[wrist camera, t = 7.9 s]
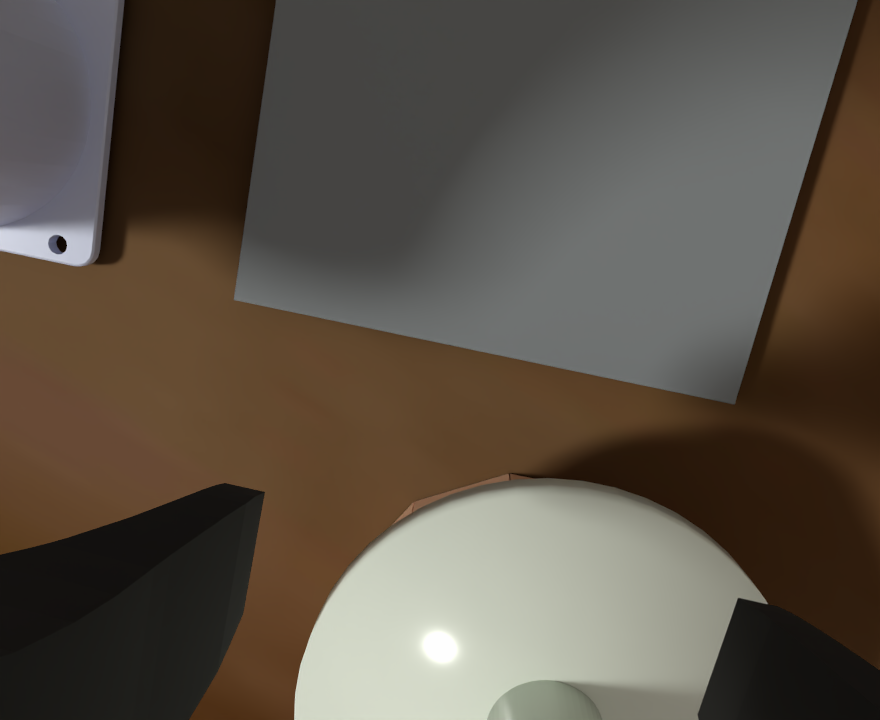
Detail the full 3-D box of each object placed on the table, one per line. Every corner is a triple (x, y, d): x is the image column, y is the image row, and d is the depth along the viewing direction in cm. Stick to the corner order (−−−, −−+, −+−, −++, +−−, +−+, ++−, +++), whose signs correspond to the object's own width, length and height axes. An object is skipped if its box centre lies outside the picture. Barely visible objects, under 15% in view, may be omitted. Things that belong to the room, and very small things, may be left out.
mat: (241, 297, 20) (233, 299, 20) (321, -271, 17) (316, -288, 17) (727, 398, 20) (734, 404, 20) (893, -154, 17) (908, -166, 17)
